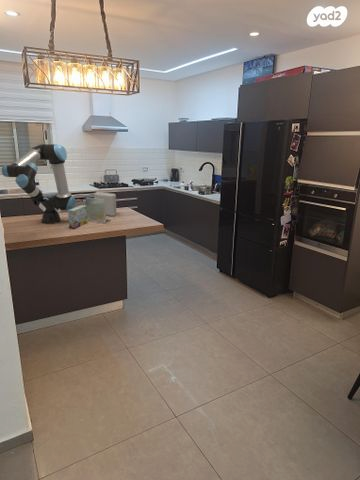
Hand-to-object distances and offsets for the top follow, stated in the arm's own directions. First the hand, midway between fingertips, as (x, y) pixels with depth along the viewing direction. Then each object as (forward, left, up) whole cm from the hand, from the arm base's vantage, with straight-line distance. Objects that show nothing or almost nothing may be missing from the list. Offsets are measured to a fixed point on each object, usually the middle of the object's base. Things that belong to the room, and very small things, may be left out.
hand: (52, 210), depth 238 cm
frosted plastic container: (+4, +48, -18) cm, 51 cm away
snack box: (-1, +28, -18) cm, 33 cm away
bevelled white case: (-4, +70, -18) cm, 72 cm away
